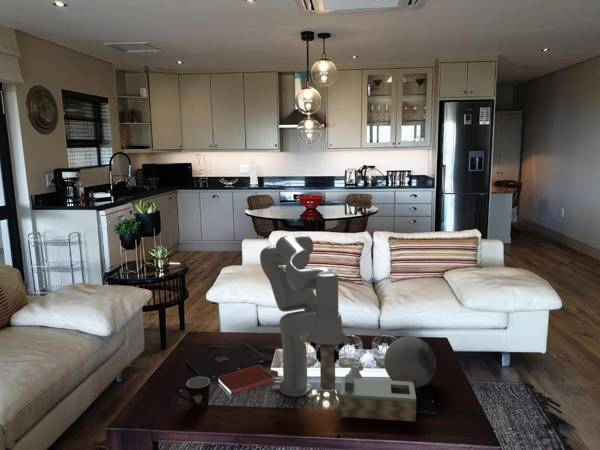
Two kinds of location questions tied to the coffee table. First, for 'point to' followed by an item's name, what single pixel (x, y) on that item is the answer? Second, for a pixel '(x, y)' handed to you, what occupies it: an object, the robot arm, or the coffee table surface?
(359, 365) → the duck figurine
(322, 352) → the beige tall cylinder
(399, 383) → the lid
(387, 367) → the moon model
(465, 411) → the coffee table surface
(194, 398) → the coffee mug
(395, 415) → the wooden box
